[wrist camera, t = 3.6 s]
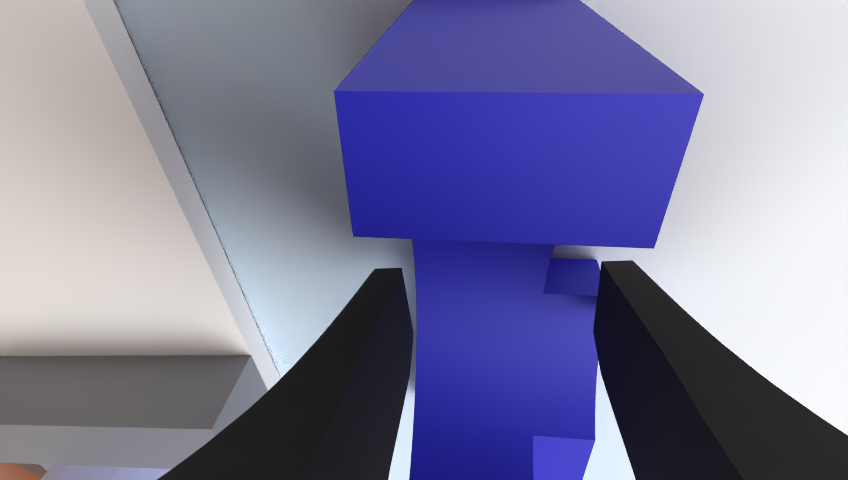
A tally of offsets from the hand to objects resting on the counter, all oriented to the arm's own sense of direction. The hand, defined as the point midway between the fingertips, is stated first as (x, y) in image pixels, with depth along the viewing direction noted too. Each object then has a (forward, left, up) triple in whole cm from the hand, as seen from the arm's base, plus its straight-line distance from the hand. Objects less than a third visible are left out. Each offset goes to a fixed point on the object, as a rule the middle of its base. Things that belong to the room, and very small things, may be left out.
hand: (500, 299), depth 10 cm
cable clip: (0, 0, -2) cm, 2 cm away
